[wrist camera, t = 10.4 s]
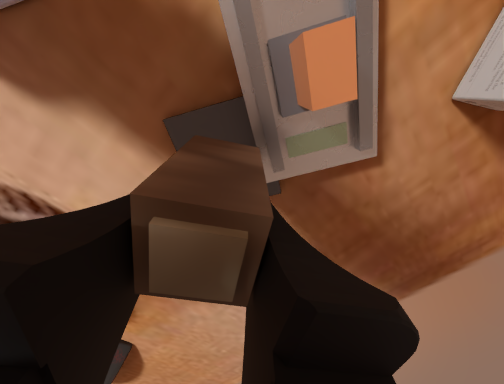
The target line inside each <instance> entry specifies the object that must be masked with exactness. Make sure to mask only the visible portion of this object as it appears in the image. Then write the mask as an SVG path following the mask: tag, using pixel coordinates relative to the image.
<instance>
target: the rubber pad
mask: <svg viewBox="0 0 504 384" xmlns="http://www.w3.org/2000/svg"><path fill="white" fill-rule="evenodd" d="M163 122H164V124H165V126H166V129H167V131H168V133H169V135H170V138H171V140H172V142H173V144H174V147H175V149H176V151H178V150H179V149H180V148H181V147H182V146H184V145H185V144H186V143H187V142H188V141H189V140H190V139H191V138H193V137H194V136H195V135H198V136H203V137H208V138H213V139H218V140H223V141H228V142H233V143H238V144H243V145H248V146H253V147H256V143H255V139H254V135H253V132H252V128H251V124H250V120H249V116H248V112H247V108H246V105H245V101H244V97H243V96H242V97H239V98H235V99H232V100H228V101H225V102H222V103H218V104H215V105H211V106H208V107H205V108H201V109H198V110H194V111H191V112H187V113H184V114H181V115H177V116H174V117H170V118H167V119H164V120H163ZM267 188H268V193H269V196H272V195H276V194H280V193H281V189H280V185H279V180H277V181H273V182H269V183H267Z"/></svg>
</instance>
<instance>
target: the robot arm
mask: <svg viewBox="0 0 504 384" xmlns="http://www.w3.org/2000/svg"><path fill="white" fill-rule="evenodd" d="M21 1H23V0H0V9H3V8H5V7H8V6H10V5H13V4H15V3H18V2H21ZM270 203H271V202H270ZM271 208H272V212H273V217H274V218H273V221H272V224H271V228H270V231H269V234H268V238H267V241H266V244H265V248H264V251H263V254H262V258H261V261H260V264H259V268H258V271H257V275H256V278H255V281H254V285H253V288H252V291H251V295H250V298H249V301H248V305H247V307H246V324H245V342H244V357H243V372H242V384H396V383H395V381H394V378H393V376H392V375H393V374H394V373H395V372H396V371H397V370H398V369H399V367H401V366H402V365H403V364H404V363H405V362H406V361H407V360H408V359H409V358H410V357H411V356H412V355H413V354H414V352H415V351H416V349H417V346H418V343H419V339H420V338H419V333H418V330H417V329H416V327H415V326H414V325H413V323H412V321H411V320H410V318H409V317H408V315H407V314H406V312H405V311H404V309H403V308H402V307H401V305H400V304H399V302H398V301H397V299H396V298H395V297H393V296H391V295H389V294H387V293H385V292H383V291H381V290H380V289H378V288H376V287H374V286H372V285H370V284H368V283H366V282H365V281H363V280H361V279H359V278H358V277H356V276H354V275H353V274H351V273H349V272H348V271H346V270H345V269H343V268H341V267H340V266H338V265H337V264H335V263H334V262H332V261H331V260H330V259H328V258H327V257H326V256H324V255H323V254H321V253H320V252H319V251H317V250H316V249H315V248H314V247H312V246H311V245H310V244H309V243H308V242H307V241H305V240H304V239H303V238H302V237H301V236H300V235H299V234H298V233H297V232H296V231H295V230H294V229H293V228H292V227H291V226H290V225H289V224H288V223H287V222H286V221H285V219H284V218H283V217H282V216H281V215H280V214H279V212H278V211H277V210H276V209H275V207H274V206H273V205H272V203H271ZM139 295H140V294H135V288H134V267H133V247H132V226H131V206H130V194H129V195H126V196H123V197H121V198H118V199H115V200H113V201H110V202H107V203H103V204H100V205H97V206H93V207H89V208H86V209H82V210H78V211H73V212H68V213H64V214H59V215H54V216H50V217H45V218H39V219H33V220H27V221H22V222H15V223H8V224H1V225H0V384H104V382H105V379H106V376H107V374H108V371H109V368H110V366H111V363H112V360H113V358H114V355H115V353H116V350H117V348H118V345H119V343H120V340H121V338H122V335H123V333H124V330H125V328H126V325H127V323H128V321H129V318H130V316H131V313H132V311H133V309H134V306H135V304H136V302H137V299H138V297H139Z"/></svg>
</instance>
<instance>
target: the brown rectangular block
mask: <svg viewBox="0 0 504 384" xmlns="http://www.w3.org/2000/svg"><path fill="white" fill-rule="evenodd" d="M130 206H131V226H132V247H133V267H134V288H135V294H142V295H150V296H159V297H167V298H175V299H184V300H192V301H201V302H209V303H218V304H226V305H234V306H243V307H247V305H248V301H249V298H250V295H251V291H252V288H253V285H254V281H255V278H256V275H257V271H258V268H259V264H260V261H261V258H262V254H263V251H264V248H265V244H266V241H267V238H268V234H269V231H270V228H271V224H272V221H273V218H274V217H273V212H272V208H271V203H270V198H269V193H268V188H267V183H266V178H265V173H264V168H263V163H262V158H261V153H260V148H258V147H253V146H248V145H243V144H238V143H233V142H228V141H223V140H218V139H213V138H208V137H203V136H198V135H195V136H194V137H193V138H191V139H190V140H189V141H188V142H187V143H186V144H185V145H184V146H182V147H181V148H180V149H179V150H178V151H177V152H176V153H175V154H174V155H172V156H171V157H170V158H169V159H168V160H167V161H166V162H165V163H163V164H162V165H161V166H160V167H159V168H158V169H157V170H156V171H155V172H153V173H152V174H151V175H150V176H149V177H148V178H147V179H146V180H144V181H143V182H142V183H141V184H140V185H139V186H138V187H137V188H136V189H134V190H133V191H132V192H131V193H130Z"/></svg>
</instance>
